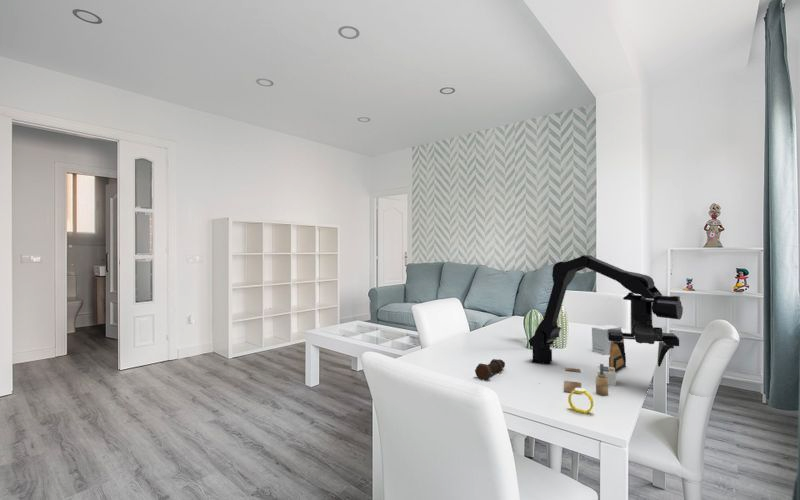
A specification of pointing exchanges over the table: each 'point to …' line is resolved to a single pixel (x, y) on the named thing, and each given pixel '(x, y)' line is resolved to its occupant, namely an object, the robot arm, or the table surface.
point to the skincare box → (602, 339)
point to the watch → (581, 391)
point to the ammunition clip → (616, 357)
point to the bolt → (489, 369)
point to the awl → (601, 383)
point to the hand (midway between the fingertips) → (641, 364)
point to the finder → (609, 374)
